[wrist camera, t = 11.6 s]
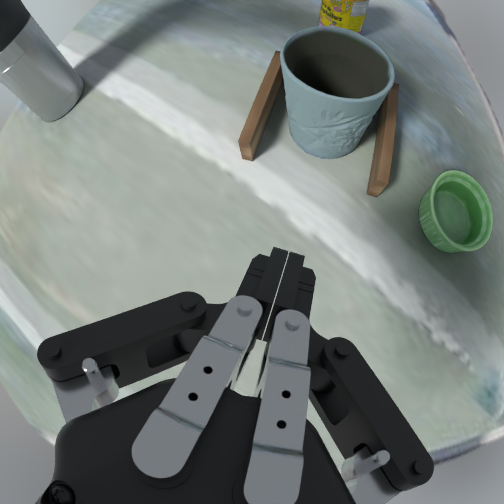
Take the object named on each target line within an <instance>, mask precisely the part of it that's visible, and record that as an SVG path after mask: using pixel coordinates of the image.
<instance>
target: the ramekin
mask: <svg viewBox="0 0 504 504" xmlns="http://www.w3.org/2000/svg"><path fill="white" fill-rule="evenodd" d="M419 219H420V224H421V227H422V230H423V232H424V234H425V236H426V237H427V239H428V240H429V242H430V243H431V244H432V245H433V246H435V247H436V248H438V249H439V250H441V251H443V252H447V253H455V252H461V251H466V252H470V251H475V250H478V249H480V248H481V247H482V246H484V245H485V244H486V242H487V241H488V239H489V237H490V235H491V232H492V227H493V214H492V208H491V204H490V201H489V199H488V197H487V195H486V193H485V191H484V190H483V188H482V187H481V186H480V184H479V183H478V182H477V181H476V180H475V179H474V178H472V177H471V176H470V175H468V174H466V173H464V172H461V171H457V170H449V171H446V172H443V173H442V174H440V175H439V176H438V177H437V178H436V179H435V181H434V183H433V184H432V186H431V187H430V188H429V189H428V191H427V192H426V193H425V194H424V196H423V198H422V200H421V203H420V207H419Z"/></svg>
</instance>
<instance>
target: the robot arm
mask: <svg viewBox="0 0 504 504" xmlns="http://www.w3.org/2000/svg"><path fill="white" fill-rule="evenodd" d="M0 82H1V83H2V84H3V85H4V86H6V87H7V88H8V89H9V90H10V91H11V92H12V93H13V94H14V95H15V96H17V97H18V98H19V99H20V100H21V101H22V102H23V103H24V104H26V105H27V106H28V107H29V108H30V109H31V110H32V111H33V112H34V113H36V114H37V115H38V116H39V117H40V118H41V119H42V120H44V121H46V122H51V121H55V120H57V119H59V118H61V117H62V116H64V115H65V114H66V113H67V112H68V111H69V110H70V109H72V107H73V106H74V105H75V104H76V102H77V101H78V100H79V98H80V96H81V94H82V92H83V88H84V83H83V80H82V79H81V78H80V76H79V75H78V74H77V73H76V71H75V70H74V69H73V68H72V66H71V65H70V64H69V63H68V61H67V60H66V59H65V58H64V56H63V55H62V54H61V53H60V51H59V50H58V49H57V48H56V46H55V45H54V44H53V43H52V41H51V40H50V39H49V37H48V36H47V35H46V34H45V33H44V31H43V30H42V29H41V27H40V26H39V25H38V24H37V22H36V21H35V20H34V18H33V17H32V16H31V15H30V13H29V12H28V11H27V9H26V8H25V6H24V5H23V3H22V2H21V0H0ZM287 255H288V251H286V250H283V249H280V248H276V247H273V250H272V252H271V255H270V257H268V256H265V255H262V254H259V255H257V256H256V257H255V258H253V259H252V261H251V263H250V265H249V268H248V270H247V272H246V274H245V276H244V279H243V281H242V283H241V285H240V288H239V290H238V292H237V294H236V296H235V297H233V298H232V299H230V300H229V302H227V303H224V304H207V303H206V301H205V299H204V298H203V297H202V296H201V295H199V294H197V293H195V292H189V291H188V292H181V293H178V294H175V295H172V296H169V297H167V298H164V299H161V300H158V301H155V302H152V303H149V304H147V305H144V306H141V307H138V308H135V309H132V310H129V311H126V312H123V313H121V314H118V315H115V316H112V317H109V318H106V319H103V320H100V321H97V322H94V323H91V324H88V325H85V326H82V327H79V328H77V329H74V330H71V331H68V332H65V333H62V334H59V335H56V336H53V337H50V338H47V339H46V340H44V341H43V342H42V343H41V345H40V346H39V348H38V352H37V357H38V360H39V362H40V364H41V365H42V367H43V368H44V370H45V372H46V374H47V376H48V377H49V378H50V380H51V381H52V383H53V385H54V389H55V392H56V395H57V398H58V401H59V404H60V407H61V410H62V413H63V416H64V418H65V421H66V424H65V425H64V426H63V427H62V429H61V430H60V432H59V434H58V436H57V439H56V443H55V469H54V474H53V478H52V481H51V483H50V485H49V486H48V488H47V489H46V490H45V492H44V493H43V494H42V496H41V497H40V498H39V499H38V500H37V502H36V503H35V504H385V503H386V502H388V501H389V500H391V499H392V498H393V497H394V496H396V495H397V494H399V493H401V492H404V491H407V490H409V489H412V488H415V487H417V486H420V485H422V484H424V483H426V482H427V481H428V480H429V479H430V478H431V476H432V474H433V470H434V464H433V460H432V458H431V456H430V455H429V453H428V452H427V450H426V449H425V447H424V446H423V444H422V443H421V441H420V440H419V438H418V437H417V435H416V434H415V432H414V431H413V429H412V428H411V426H410V425H409V423H408V422H407V420H406V419H405V417H404V416H403V414H402V413H401V411H400V410H399V408H398V407H397V406H396V404H395V403H394V401H393V400H392V398H391V397H390V395H389V394H388V392H387V391H386V390H385V388H384V387H383V385H382V384H381V382H380V381H379V379H378V378H377V377H376V375H375V374H374V372H373V371H372V369H371V368H370V367H369V365H368V364H367V362H366V361H365V359H364V358H363V357H362V355H361V354H360V352H359V351H358V350H357V348H356V347H355V345H354V344H353V343H352V342H350V341H349V340H347V339H345V338H341V337H334V338H331V339H330V340H327V339H326V338H324V337H322V336H320V335H319V334H318V333H316V332H315V331H314V330H313V328H312V327H311V325H310V321H309V316H310V311H311V305H312V299H313V293H314V286H315V280H316V277H315V274H314V272H313V270H312V269H309V268H306V267H303V262H304V258H305V256H303V255H300V254H297V253H293V252H290V253H289V256H288V260H287V263H286V266H285V270H284V273H283V276H282V280H281V283H280V286H279V289H278V293H277V296H276V299H275V303H274V306H273V309H272V312H271V316H270V319H269V322H268V325H267V328H266V332H265V335H264V338H263V341H266V342H267V344H266V347H265V351H264V353H263V356H262V361H261V365H260V370H259V375H258V379H257V384H256V388H255V393H254V396H253V397H250V396H242V395H240V394H238V393H237V392H235V391H234V388H235V386H236V384H237V381H238V379H239V377H240V375H241V373H242V371H243V368H244V366H245V364H246V362H247V360H248V358H249V355H250V353H251V350H252V349H253V348H254V345H255V342H256V339H259V340H261V339H262V336H263V333H264V330H265V327H266V323H267V320H268V317H269V314H270V311H271V308H272V304H273V301H274V298H275V295H276V291H277V288H278V285H279V282H280V278H281V275H282V272H283V268H284V265H285V262H286V258H287ZM187 360H188V361H187ZM185 361H187V363H186V364H185V366H184V367H183V369H182V371H181V372H180V374H179V376H178V377H177V378H173V379H168V380H164V381H161V382H158V383H156V384H154V385H152V386H150V387H147V388H145V389H143V390H141V391H139V392H136V393H134V394H132V395H130V396H127V397H125V398H123V399H120V400H118V401H116V402H113V401H114V400H115V399H116V398H117V396H118V393H119V388H122V387H124V386H127V385H129V384H132V383H135V382H137V381H140V380H142V379H145V378H147V377H149V376H152V375H154V374H157V373H159V372H162V371H164V370H166V369H169V368H171V367H173V366H176V365H178V364H180V363H183V362H185ZM308 397H309V399H310V401H311V403H312V404H313V406H314V408H315V409H316V411H317V413H318V415H319V416H320V418H321V420H322V421H323V423H324V425H325V427H326V428H327V430H328V432H329V433H330V435H331V437H332V439H333V440H334V442H335V444H336V445H337V447H338V449H339V450H340V452H341V454H342V455H343V457H344V459H345V461H344V462H343V464H342V467H341V474H342V476H341V474H340V473H339V471H338V469H337V467H336V465H335V463H334V461H333V460H332V458H331V456H330V454H329V452H328V450H327V448H326V446H325V444H324V443H323V441H322V439H321V437H320V435H319V433H318V431H317V430H316V428H315V427H314V426H313V425H312V424H311V422H310V421H308V420H307V419H306V415H307V406H308ZM112 402H113V403H112ZM110 403H111V404H110ZM108 404H109V405H108ZM342 477H343V478H342Z"/></svg>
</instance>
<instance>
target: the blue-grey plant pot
mask: <svg viewBox="0 0 504 504" xmlns="http://www.w3.org/2000/svg"><path fill="white" fill-rule="evenodd" d="M280 60H281V66H282V73H283V78H284V84H285V85H284V87H285V92H286V96H285V98H286V107H287V111H288V123H289V130H290V133H291V136H292V138H293V140H294V141H295V143H296V144H297V145H298V146H299V147H300V148H301V149H302V150H304V151H305V152H306V153H308V154H311V155H313V156H315V157H320V158H321V159H324V158H327V159H330V158H331V159H334V158H338V157H342V156H344V155H347V154H348V153H350V152H351V151H353V150H354V149H355V147H356V146H357V145H358V143H359V141H360V139H361V138H362V136H363V134H364V132H365V131H366V129H367V127H368V125H369V124H370V122H371V121H372V117H373V115H374V114H375V113H376V112H377V110H378V109H379V107H380V105H381V104H382V102H383V100H384V99H385V97H386V95H387V94H388V92H389V91H390V89H391V87H392V86H393V83H394V80H395V72H394V67H393V65H392V62H391V60H390V59H389V57H388V56H387V54H386V53H385V52H384V51H383V50H382V49H381V48H380V47H379V46H378V45H377V44H376V43H374V42H373V41H372V40H369V39H368V38H366V37H364V36H362V35H360V34H358V33H356V32H354V31H351V30H348V29H344V28H339V27H332V26H316V27H310V28H306V29H303V30H300V31H298V32H296V33H294V34H293V35H291V36H290V37H289V38H288V39H287V40H286V41H285V43H284V44H283V46H282V48H281V52H280Z"/></svg>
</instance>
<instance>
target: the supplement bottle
mask: <svg viewBox="0 0 504 504" xmlns="http://www.w3.org/2000/svg"><path fill="white" fill-rule="evenodd" d="M368 3H369V0H322V2H321V10H320V18H319V26H332V27H339V28H344V29H348V30H351V31H354V32H356V33H358V34H360V33H361V30H362V26H363V23H364V19H365V15H366V11H367V7H368Z"/></svg>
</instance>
